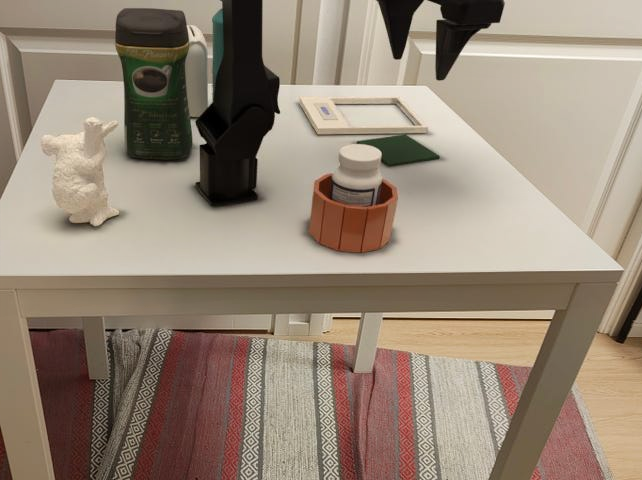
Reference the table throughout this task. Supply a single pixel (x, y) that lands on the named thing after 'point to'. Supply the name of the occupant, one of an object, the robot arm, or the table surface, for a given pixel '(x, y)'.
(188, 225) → the table surface
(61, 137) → the white animal figurine
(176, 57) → the coffee jar
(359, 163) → the pill bottle
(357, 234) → the pot
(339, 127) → the photo frame
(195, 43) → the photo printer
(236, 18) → the robot arm
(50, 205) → the table surface
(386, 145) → the mat
